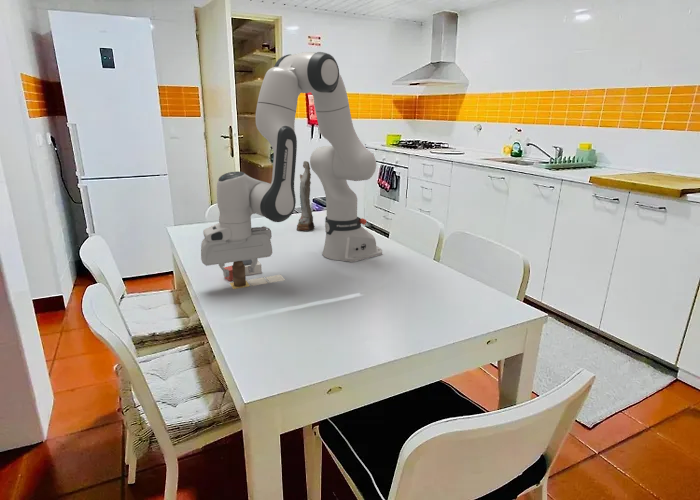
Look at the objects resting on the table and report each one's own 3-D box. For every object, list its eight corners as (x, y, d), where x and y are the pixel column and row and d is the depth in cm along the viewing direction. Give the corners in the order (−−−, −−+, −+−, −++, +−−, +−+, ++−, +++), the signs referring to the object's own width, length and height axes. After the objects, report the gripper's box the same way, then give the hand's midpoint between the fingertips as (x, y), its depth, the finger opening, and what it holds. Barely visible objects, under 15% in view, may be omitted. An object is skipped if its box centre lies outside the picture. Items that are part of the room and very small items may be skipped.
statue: (300, 226, 193) (298, 159, 183) (316, 227, 192) (315, 160, 182) (295, 231, 186) (293, 162, 176) (311, 232, 185) (310, 162, 175)
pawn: (244, 281, 129) (242, 256, 127) (247, 285, 126) (245, 260, 124) (232, 283, 128) (230, 258, 125) (234, 287, 125) (232, 262, 122)
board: (270, 264, 146) (270, 261, 146) (289, 286, 129) (289, 282, 129) (220, 272, 139) (220, 269, 138) (233, 296, 122) (233, 292, 122)
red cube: (234, 275, 134) (233, 265, 133) (240, 278, 132) (239, 268, 130) (224, 278, 132) (223, 267, 131) (229, 281, 129) (228, 270, 128)
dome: (253, 266, 140) (252, 254, 139) (256, 270, 137) (255, 258, 135) (239, 268, 138) (238, 256, 137) (242, 272, 135) (242, 260, 133)
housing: (256, 266, 142) (255, 257, 141) (261, 273, 136) (261, 264, 135) (235, 269, 139) (234, 260, 138) (239, 276, 133) (239, 267, 132)
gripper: (268, 223, 129) (270, 265, 133) (197, 230, 120) (202, 275, 124) (274, 228, 123) (276, 272, 128) (200, 236, 115) (205, 283, 119)
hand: (239, 274), depth 126 cm, fingers open, 6 cm apart
